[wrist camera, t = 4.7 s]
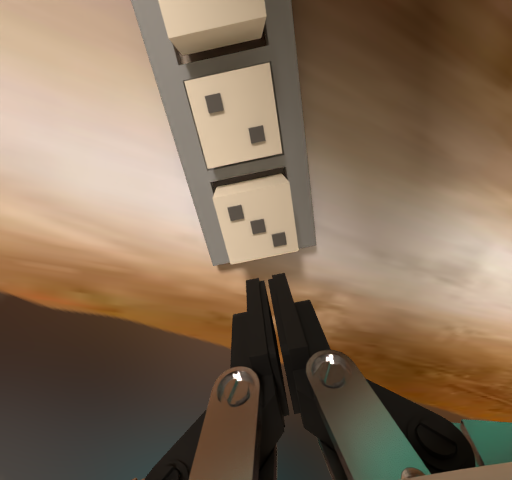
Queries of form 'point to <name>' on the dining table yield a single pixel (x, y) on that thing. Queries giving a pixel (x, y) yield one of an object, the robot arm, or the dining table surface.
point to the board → (185, 131)
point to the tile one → (212, 23)
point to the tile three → (256, 218)
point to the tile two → (235, 115)
